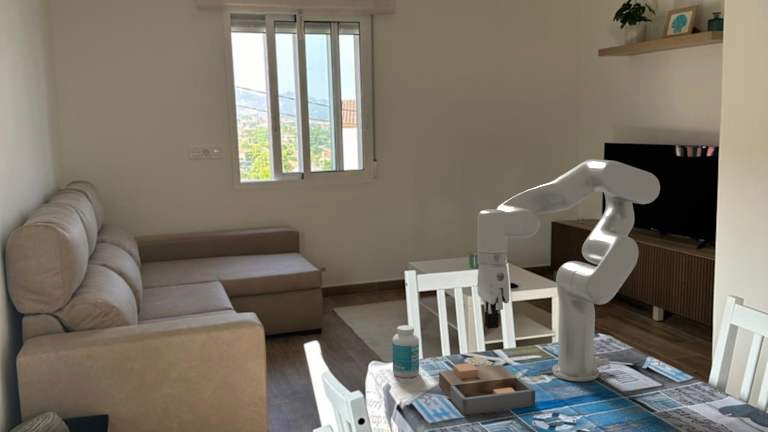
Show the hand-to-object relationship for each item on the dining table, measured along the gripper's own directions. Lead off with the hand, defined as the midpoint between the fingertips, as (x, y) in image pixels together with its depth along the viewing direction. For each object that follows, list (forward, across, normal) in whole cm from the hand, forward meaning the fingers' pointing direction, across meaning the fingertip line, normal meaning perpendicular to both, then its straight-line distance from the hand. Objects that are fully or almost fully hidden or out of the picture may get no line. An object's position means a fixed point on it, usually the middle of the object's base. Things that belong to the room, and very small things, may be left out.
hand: (491, 327), depth 180 cm
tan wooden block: (+17, +2, +3) cm, 18 cm away
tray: (+17, -8, +3) cm, 19 cm away
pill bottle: (+18, +18, +18) cm, 31 cm away
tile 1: (+13, +3, +6) cm, 15 cm away
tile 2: (+15, -8, 0) cm, 17 cm away
